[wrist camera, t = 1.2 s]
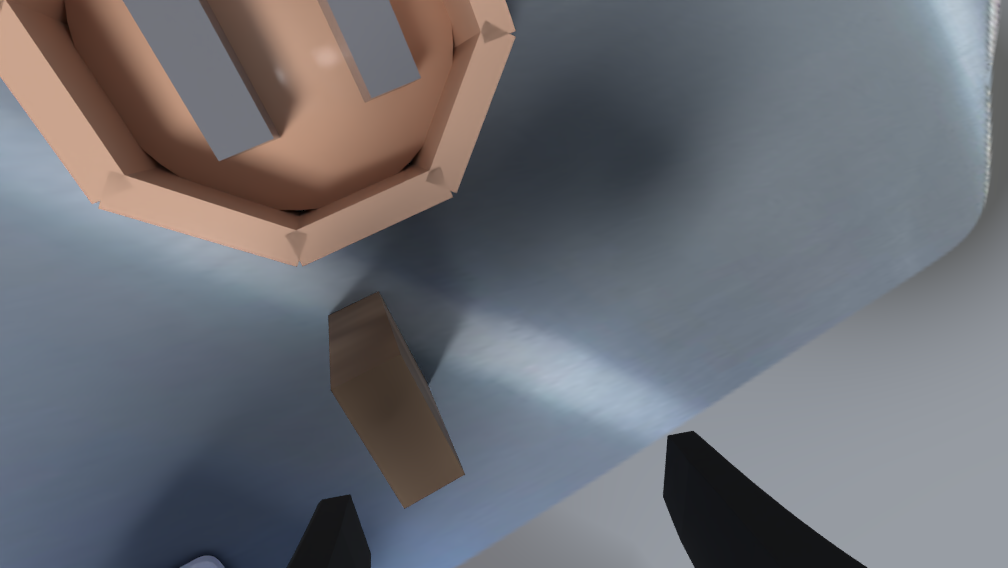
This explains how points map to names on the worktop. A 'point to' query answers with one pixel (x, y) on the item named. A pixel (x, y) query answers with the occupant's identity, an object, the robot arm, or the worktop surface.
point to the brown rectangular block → (389, 401)
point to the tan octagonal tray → (259, 109)
